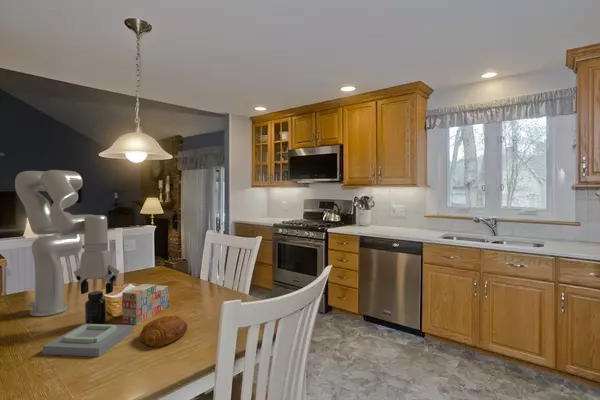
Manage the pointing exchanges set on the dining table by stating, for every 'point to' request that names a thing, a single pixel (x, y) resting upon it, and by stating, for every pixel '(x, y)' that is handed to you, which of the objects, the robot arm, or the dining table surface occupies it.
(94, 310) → the supplement bottle
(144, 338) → the croissant
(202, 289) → the dining table surface
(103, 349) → the base plate
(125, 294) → the stack of blocks
